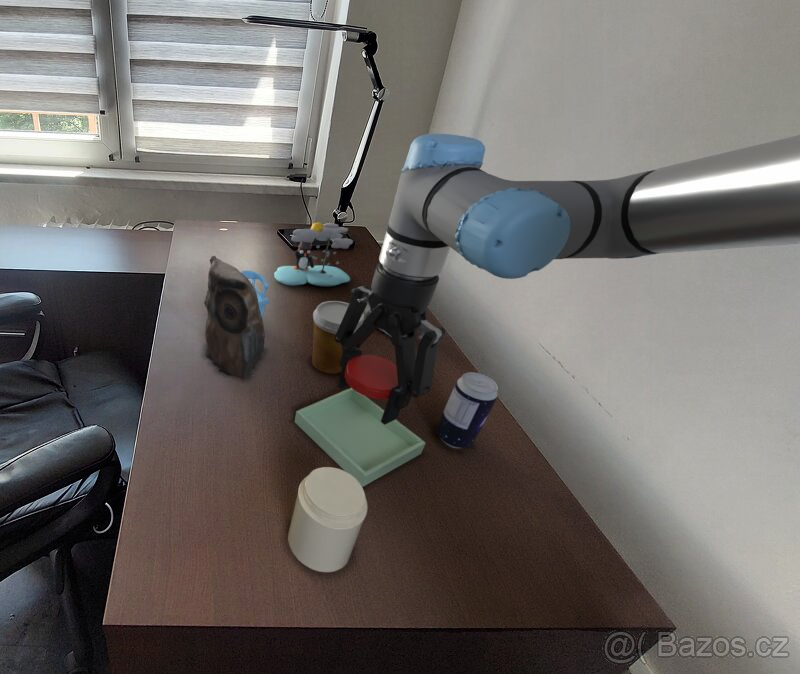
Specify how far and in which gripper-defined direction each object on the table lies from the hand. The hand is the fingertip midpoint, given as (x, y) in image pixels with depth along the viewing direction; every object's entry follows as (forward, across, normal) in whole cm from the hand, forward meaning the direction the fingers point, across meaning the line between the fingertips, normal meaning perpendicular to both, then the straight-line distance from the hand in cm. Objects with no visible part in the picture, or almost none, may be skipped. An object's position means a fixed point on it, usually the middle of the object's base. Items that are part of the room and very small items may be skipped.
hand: (366, 402), depth 70 cm
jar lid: (-6, 0, 0) cm, 6 cm away
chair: (+8, -37, +4) cm, 38 cm away
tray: (+8, 0, 0) cm, 8 cm away
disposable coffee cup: (+8, -17, +10) cm, 21 cm away
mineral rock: (+8, -22, +32) cm, 40 cm away
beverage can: (+8, +8, +14) cm, 18 cm away
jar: (+7, +11, -18) cm, 23 cm away
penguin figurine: (+8, -47, +32) cm, 57 cm away
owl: (+8, -27, -5) cm, 28 cm away
